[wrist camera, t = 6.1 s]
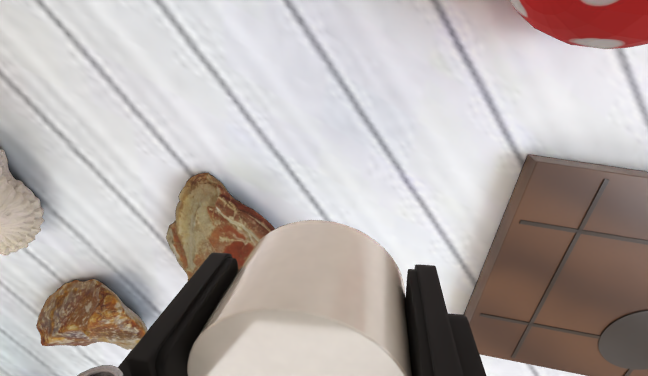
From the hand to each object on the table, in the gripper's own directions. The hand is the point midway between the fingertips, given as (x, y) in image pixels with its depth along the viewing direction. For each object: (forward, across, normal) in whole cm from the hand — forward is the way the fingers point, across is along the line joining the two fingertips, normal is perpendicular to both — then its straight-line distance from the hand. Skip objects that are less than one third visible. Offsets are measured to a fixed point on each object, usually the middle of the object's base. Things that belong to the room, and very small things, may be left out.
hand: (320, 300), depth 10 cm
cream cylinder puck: (0, 0, 0) cm, 0 cm away
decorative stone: (+16, +27, +18) cm, 37 cm away
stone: (+16, +11, +9) cm, 21 cm away
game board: (+16, -20, +10) cm, 27 cm away
